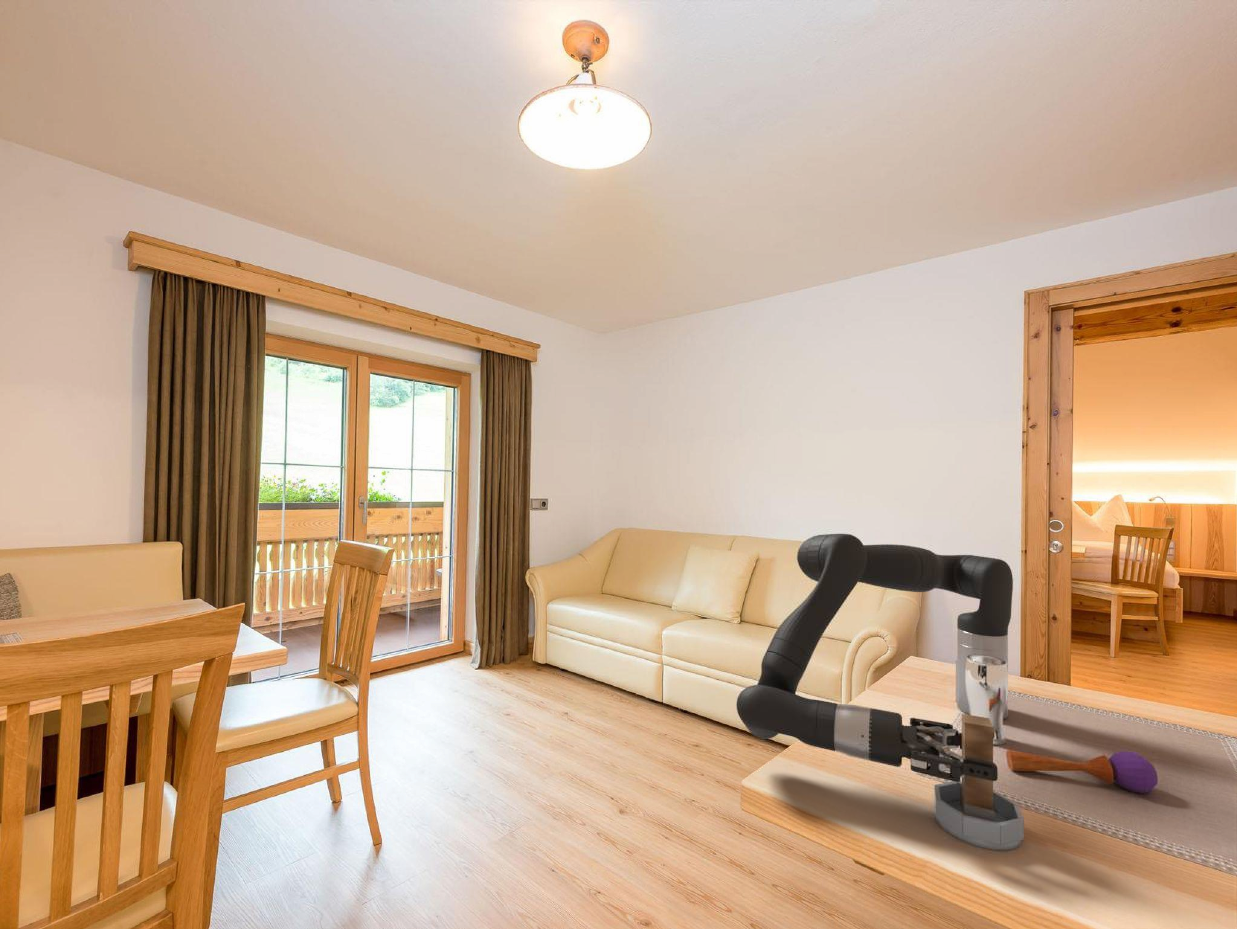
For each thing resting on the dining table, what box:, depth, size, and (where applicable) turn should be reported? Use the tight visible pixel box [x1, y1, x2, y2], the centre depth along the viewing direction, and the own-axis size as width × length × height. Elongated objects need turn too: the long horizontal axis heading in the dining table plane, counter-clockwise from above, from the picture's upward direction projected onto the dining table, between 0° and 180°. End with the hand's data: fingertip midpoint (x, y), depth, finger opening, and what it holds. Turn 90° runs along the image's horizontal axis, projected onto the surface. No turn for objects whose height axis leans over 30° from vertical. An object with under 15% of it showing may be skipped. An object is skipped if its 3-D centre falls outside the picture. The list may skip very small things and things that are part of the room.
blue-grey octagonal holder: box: [933, 781, 1025, 852], centre depth 80 cm, size 10×10×4 cm
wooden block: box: [961, 713, 994, 814], centre depth 80 cm, size 3×3×14 cm
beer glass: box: [965, 655, 1009, 746], centre depth 109 cm, size 7×7×15 cm
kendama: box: [1005, 749, 1159, 794], centre depth 94 cm, size 6×6×20 cm
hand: (992, 758), depth 80 cm, fingers open, 8 cm apart
